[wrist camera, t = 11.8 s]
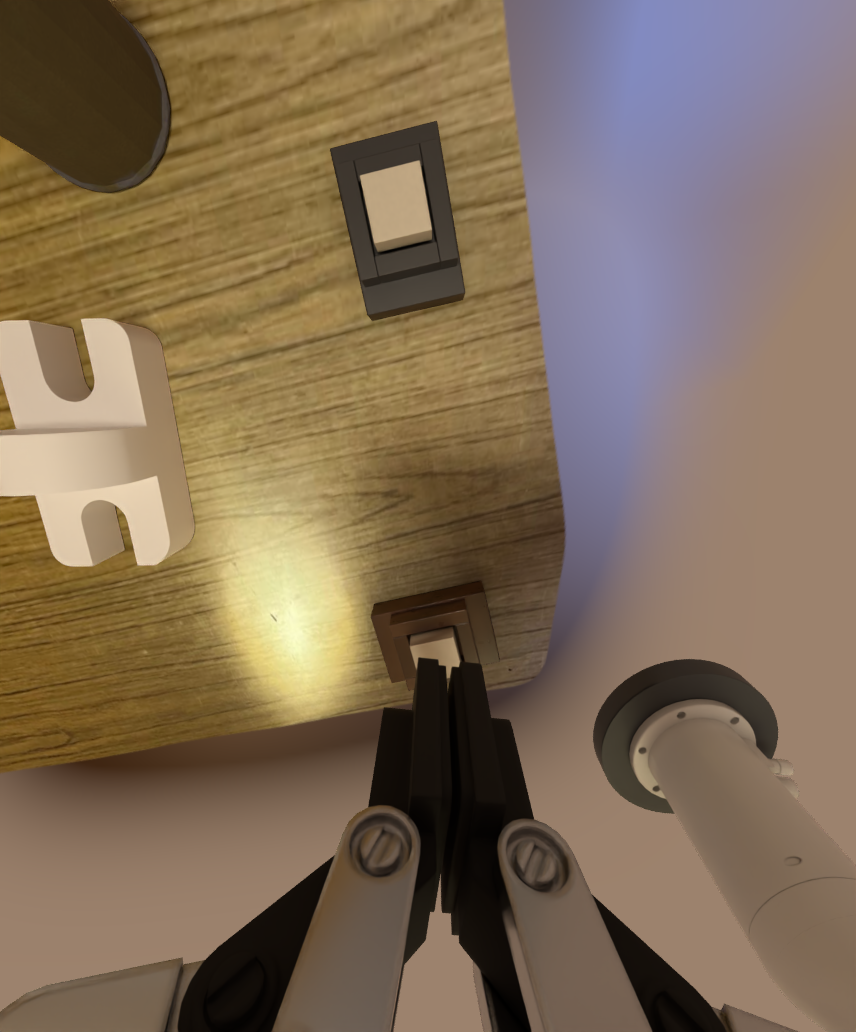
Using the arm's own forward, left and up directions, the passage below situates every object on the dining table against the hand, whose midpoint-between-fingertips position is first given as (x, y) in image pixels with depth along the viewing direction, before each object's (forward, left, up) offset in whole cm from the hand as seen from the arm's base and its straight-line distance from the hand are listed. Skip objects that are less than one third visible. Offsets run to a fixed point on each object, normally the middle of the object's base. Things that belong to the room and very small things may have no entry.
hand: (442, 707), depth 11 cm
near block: (+4, -18, -25) cm, 32 cm away
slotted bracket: (+26, -1, -25) cm, 36 cm away
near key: (+4, -19, -21) cm, 29 cm away
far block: (-2, +13, -25) cm, 28 cm away
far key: (-1, +13, -22) cm, 25 cm away
